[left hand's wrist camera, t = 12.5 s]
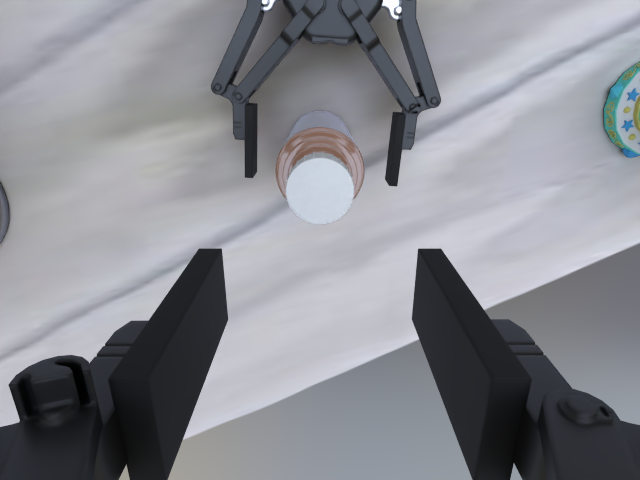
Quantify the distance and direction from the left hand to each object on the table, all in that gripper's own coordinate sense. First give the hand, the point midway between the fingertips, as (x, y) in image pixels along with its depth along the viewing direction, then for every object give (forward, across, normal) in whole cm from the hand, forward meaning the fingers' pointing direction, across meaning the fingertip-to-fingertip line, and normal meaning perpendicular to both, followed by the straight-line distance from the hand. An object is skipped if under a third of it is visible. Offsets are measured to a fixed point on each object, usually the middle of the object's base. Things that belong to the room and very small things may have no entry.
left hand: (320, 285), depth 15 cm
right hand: (+28, 0, -3) cm, 28 cm away
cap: (+13, 0, 0) cm, 13 cm away
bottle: (+34, 0, 0) cm, 34 cm away
